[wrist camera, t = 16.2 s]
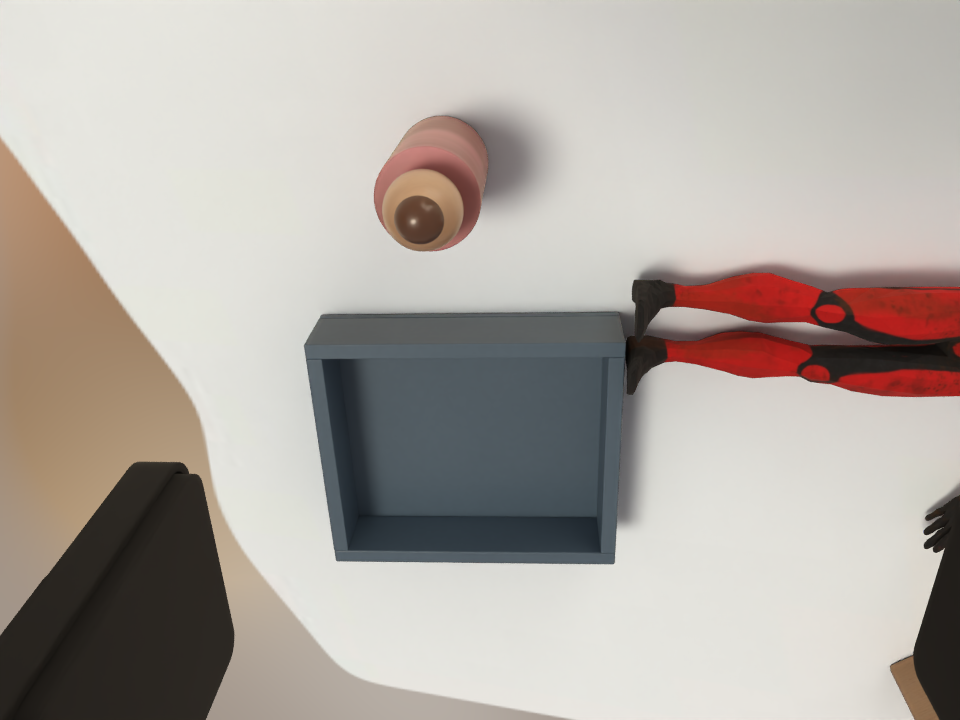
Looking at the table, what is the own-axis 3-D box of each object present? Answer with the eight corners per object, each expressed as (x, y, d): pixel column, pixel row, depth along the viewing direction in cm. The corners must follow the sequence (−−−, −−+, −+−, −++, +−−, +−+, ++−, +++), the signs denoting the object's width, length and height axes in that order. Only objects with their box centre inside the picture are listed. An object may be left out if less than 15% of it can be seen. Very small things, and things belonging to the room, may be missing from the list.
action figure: (669, 60, 31) (1543, 96, 28) (656, 42, 37) (1380, 70, 34) (605, 573, 43) (1220, 635, 40) (604, 498, 49) (1140, 548, 46)
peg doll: (393, 116, 38) (352, 167, 29) (487, 114, 38) (473, 166, 29) (400, 208, 40) (363, 281, 31) (489, 206, 40) (477, 280, 31)
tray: (321, 314, 43) (303, 345, 40) (618, 311, 42) (626, 342, 39) (349, 520, 49) (335, 561, 46) (609, 522, 48) (614, 564, 45)
